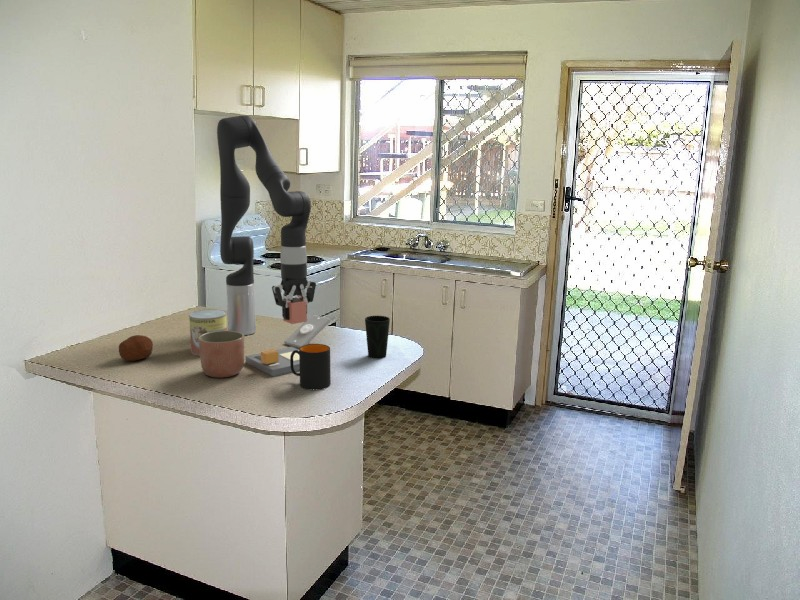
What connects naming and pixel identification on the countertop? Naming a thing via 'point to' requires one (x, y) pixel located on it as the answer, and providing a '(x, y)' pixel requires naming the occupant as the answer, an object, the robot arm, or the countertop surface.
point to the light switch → (307, 331)
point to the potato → (135, 348)
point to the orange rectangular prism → (269, 356)
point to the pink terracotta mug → (221, 353)
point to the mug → (313, 366)
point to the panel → (276, 367)
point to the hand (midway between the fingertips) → (295, 317)
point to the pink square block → (297, 311)
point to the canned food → (205, 325)
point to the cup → (377, 336)
